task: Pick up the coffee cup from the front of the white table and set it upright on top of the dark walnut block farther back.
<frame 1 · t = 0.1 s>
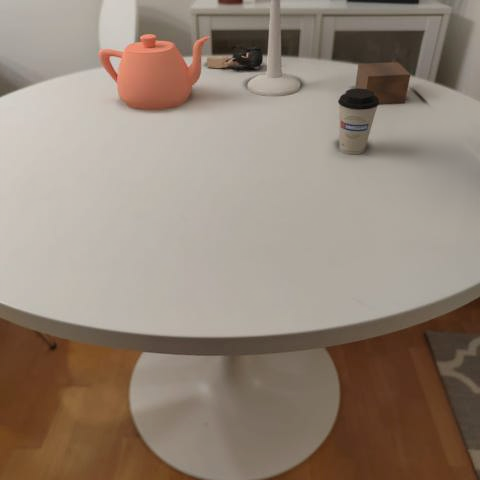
coffee cup: (351, 149, 84), on the table
toy figure: (234, 69, 123), on the table
teapot: (161, 99, 107), on the table
candlestick: (273, 87, 111), on the table
walnut block: (378, 96, 104), on the table
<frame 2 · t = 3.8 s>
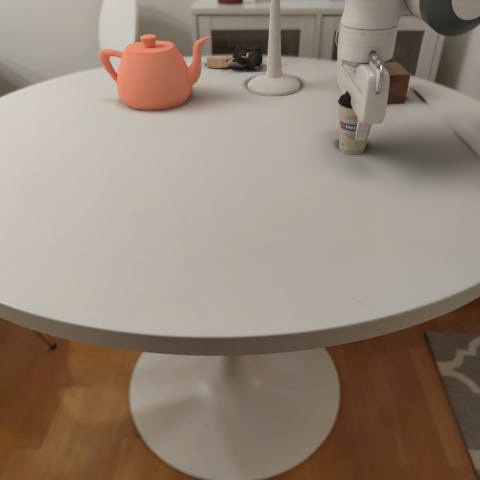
hand: (354, 129, 82), 4 cm above the table, tool pointing down, fingers closed on coffee cup, 7 cm apart
coffee cup: (351, 149, 84), on the table, touching gripper
everything else where it was.
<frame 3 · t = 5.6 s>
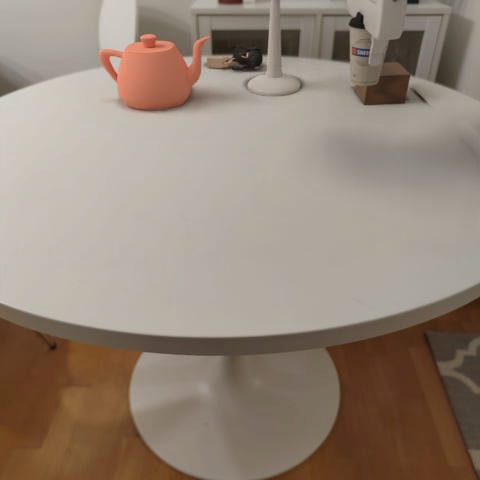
hand: (367, 57, 74), 16 cm above the table, tool pointing down, fingers closed on coffee cup, 7 cm apart
coffee cup: (363, 82, 76), point 12 cm above the table, touching gripper
everything else where it was.
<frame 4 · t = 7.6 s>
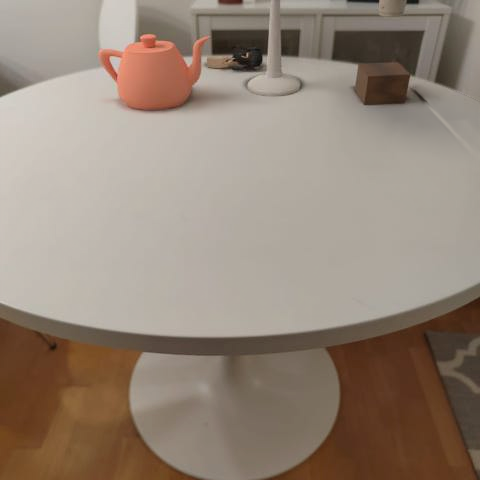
coffee cup: (390, 15, 89), point 17 cm above the table, touching gripper
everything else where it was.
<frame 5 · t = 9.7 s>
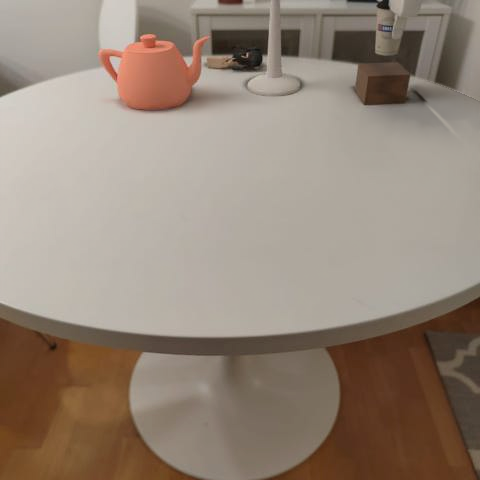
hand: (389, 33, 95), 13 cm above the table, tool pointing down, fingers closed on coffee cup, 7 cm apart
coffee cup: (386, 53, 98), point 9 cm above the table, touching gripper
everything else where it was.
when the fingers open (10 cm above the table, at t = 11.3 s): coffee cup stays where it is, resting on walnut block.
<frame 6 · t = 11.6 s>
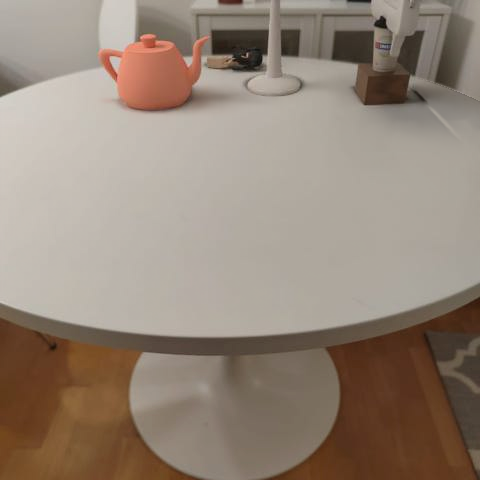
hand: (387, 49, 97), 10 cm above the table, tool pointing down, fingers open, 8 cm apart
coffee cup: (383, 69, 100), point 6 cm above the table, touching walnut block
walnut block: (378, 96, 104), on the table, touching coffee cup
everything else where it was.
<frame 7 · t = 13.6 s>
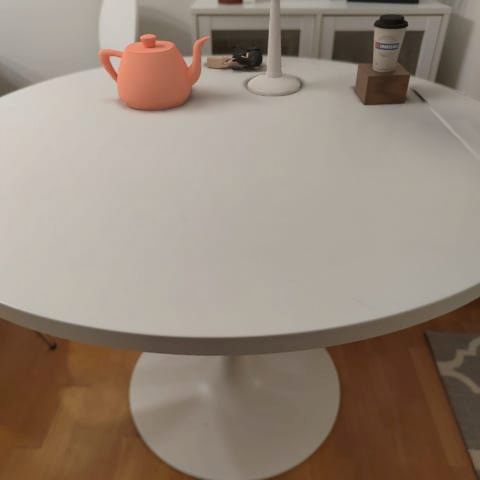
nothing on the table moved.
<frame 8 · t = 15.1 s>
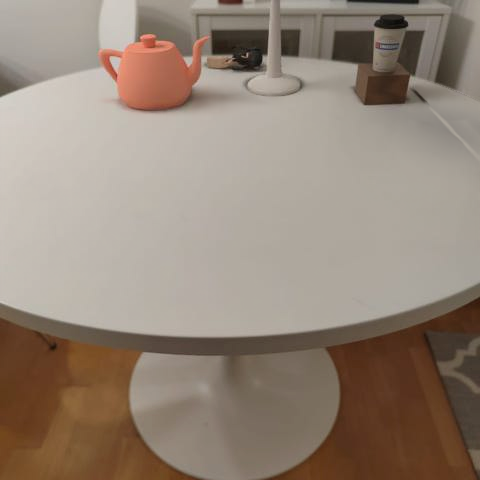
nothing on the table moved.
at the end: coffee cup 0.1 cm off-centre on the walnut block, point 5.8 cm above the walnut block's base; coffee cup tilted 0°; coffee cup touching walnut block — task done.
